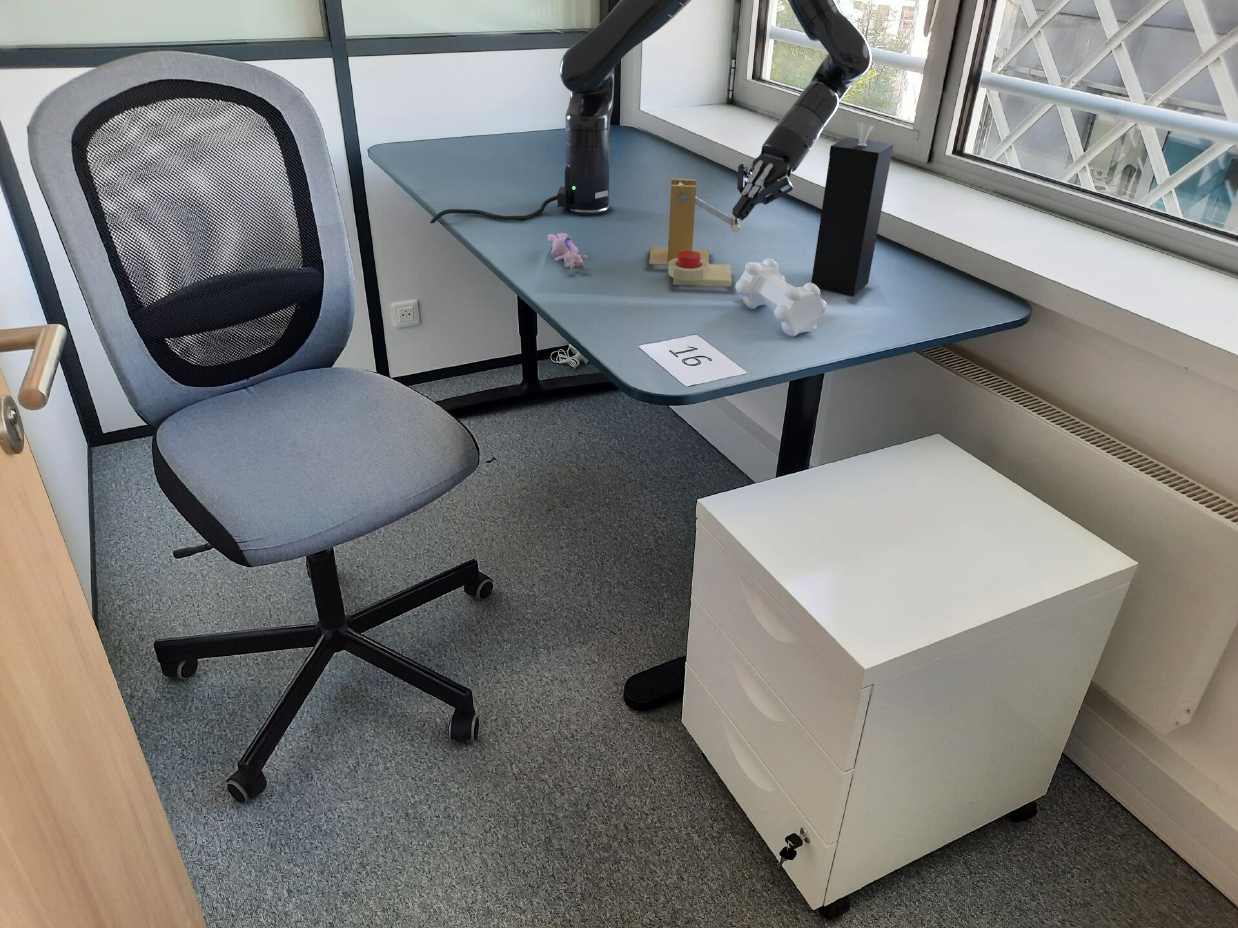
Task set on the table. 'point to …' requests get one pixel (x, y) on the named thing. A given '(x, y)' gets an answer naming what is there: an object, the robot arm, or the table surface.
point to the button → (689, 259)
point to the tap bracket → (679, 224)
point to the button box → (701, 274)
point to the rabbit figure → (566, 250)
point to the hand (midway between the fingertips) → (736, 217)
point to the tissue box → (851, 212)
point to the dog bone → (781, 297)
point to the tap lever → (717, 213)
